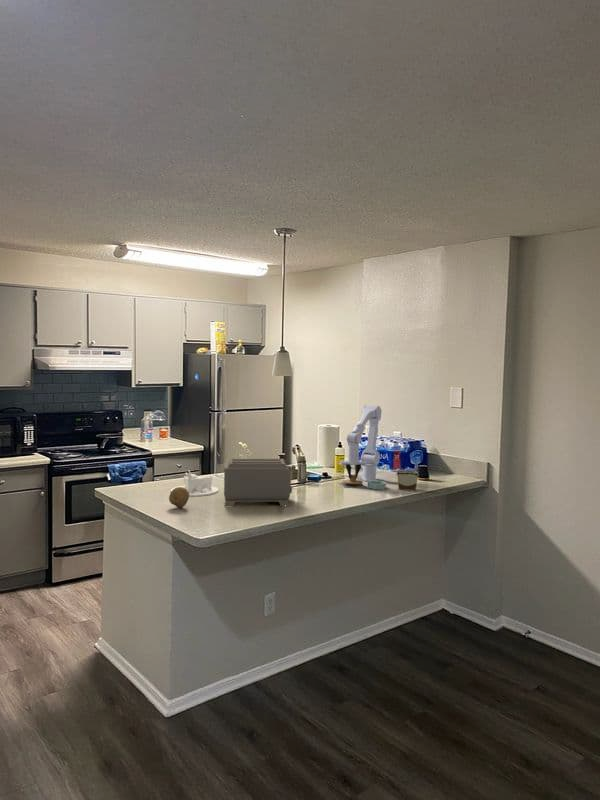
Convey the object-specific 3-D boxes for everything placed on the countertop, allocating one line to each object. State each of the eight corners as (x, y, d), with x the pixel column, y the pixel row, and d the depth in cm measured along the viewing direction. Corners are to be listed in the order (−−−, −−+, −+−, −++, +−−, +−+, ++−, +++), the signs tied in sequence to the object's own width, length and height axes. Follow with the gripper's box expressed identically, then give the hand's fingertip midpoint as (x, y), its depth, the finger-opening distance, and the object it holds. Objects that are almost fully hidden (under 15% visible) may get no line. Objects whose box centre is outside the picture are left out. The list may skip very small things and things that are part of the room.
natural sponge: (173, 511, 286) (174, 489, 285) (165, 507, 293) (165, 486, 292) (192, 508, 291) (192, 487, 290) (183, 505, 298) (183, 484, 298)
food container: (417, 488, 349) (418, 470, 348) (418, 490, 342) (419, 472, 342) (395, 487, 350) (395, 469, 349) (395, 489, 344) (396, 471, 343)
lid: (341, 481, 357) (341, 473, 357) (359, 480, 358) (360, 473, 358) (345, 484, 346) (345, 476, 346) (364, 484, 348) (365, 476, 348)
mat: (340, 483, 357) (340, 482, 357) (360, 483, 359) (360, 482, 359) (344, 487, 346) (344, 487, 346) (365, 487, 348) (365, 486, 347)
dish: (175, 498, 313) (175, 476, 313) (167, 488, 337) (167, 467, 336) (223, 495, 322) (223, 473, 322) (211, 485, 346) (212, 465, 345)
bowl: (365, 485, 352) (365, 480, 351) (382, 485, 353) (383, 480, 353) (370, 489, 342) (370, 484, 342) (388, 489, 343) (388, 484, 343)
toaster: (297, 506, 300) (297, 464, 299) (223, 507, 296) (224, 464, 295) (293, 497, 319) (294, 458, 318) (224, 497, 316) (224, 457, 314)
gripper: (342, 455, 346) (342, 479, 347) (367, 455, 349) (367, 479, 349) (339, 453, 353) (339, 477, 354) (364, 453, 355) (364, 476, 356)
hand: (352, 478), depth 352 cm, fingers closed on lid, 3 cm apart
